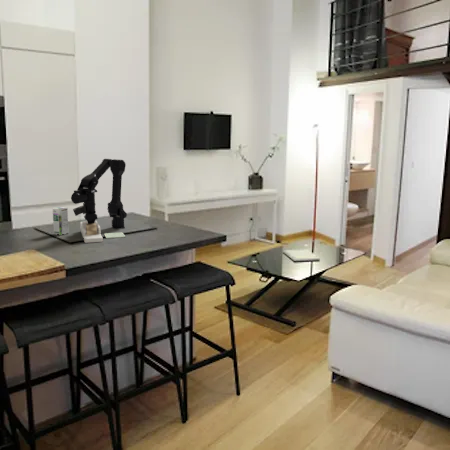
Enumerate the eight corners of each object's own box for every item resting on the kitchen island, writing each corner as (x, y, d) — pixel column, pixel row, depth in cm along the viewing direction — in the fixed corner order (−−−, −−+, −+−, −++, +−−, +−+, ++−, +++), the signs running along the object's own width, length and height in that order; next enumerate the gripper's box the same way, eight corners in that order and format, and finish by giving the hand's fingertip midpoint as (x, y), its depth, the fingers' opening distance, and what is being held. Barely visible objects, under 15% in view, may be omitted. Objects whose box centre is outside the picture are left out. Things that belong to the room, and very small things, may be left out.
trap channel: (97, 230, 266) (96, 220, 264) (102, 241, 241) (102, 231, 240) (80, 231, 262) (80, 221, 261) (84, 242, 238) (84, 232, 237)
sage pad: (122, 233, 260) (122, 232, 260) (125, 237, 251) (125, 236, 251) (104, 234, 256) (104, 233, 256) (106, 238, 247) (106, 237, 247)
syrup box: (53, 234, 255) (51, 208, 252) (61, 232, 260) (60, 206, 257) (60, 235, 252) (59, 209, 249) (69, 233, 257) (67, 207, 254)
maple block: (95, 232, 252) (95, 223, 251) (96, 234, 248) (96, 225, 247) (86, 232, 251) (85, 223, 250) (87, 234, 246) (86, 225, 245)
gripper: (72, 198, 256) (74, 226, 259) (74, 204, 239) (75, 234, 242) (93, 198, 260) (94, 225, 263) (97, 203, 242) (98, 233, 246)
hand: (90, 229), depth 253 cm, fingers closed
